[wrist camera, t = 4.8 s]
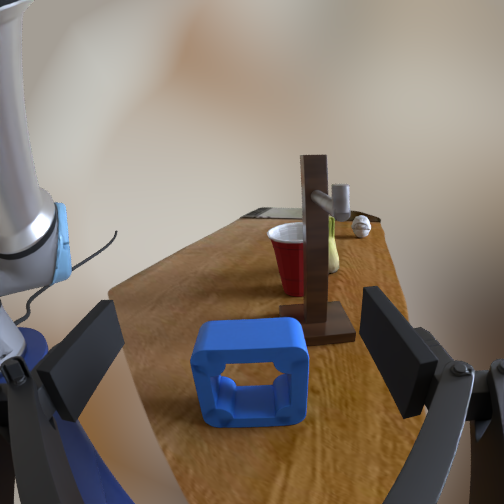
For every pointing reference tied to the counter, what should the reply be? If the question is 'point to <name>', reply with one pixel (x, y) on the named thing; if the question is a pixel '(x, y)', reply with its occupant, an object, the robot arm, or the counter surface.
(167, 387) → the counter surface
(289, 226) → the plastic cup
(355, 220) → the white lumpy ball
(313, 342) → the hook stand
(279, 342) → the blue rounded square frame
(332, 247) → the fennel bulb
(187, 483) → the counter surface
